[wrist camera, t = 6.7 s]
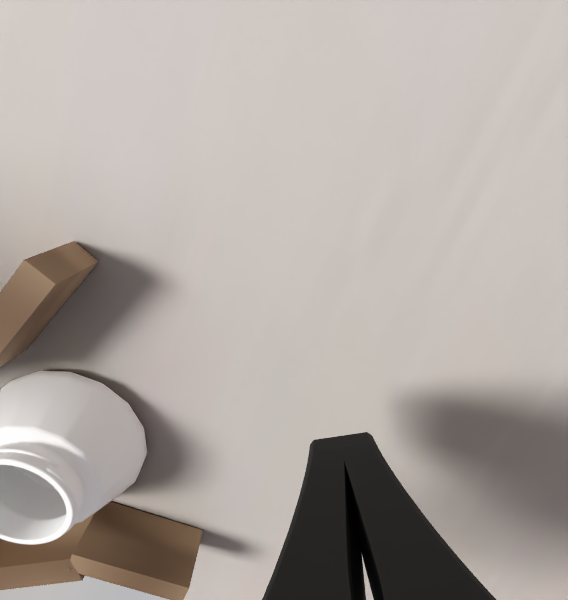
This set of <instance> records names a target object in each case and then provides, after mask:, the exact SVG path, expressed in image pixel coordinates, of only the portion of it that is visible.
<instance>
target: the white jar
mask: <svg viewBox="0 0 568 600" xmlns="http://www.w3.org/2000/svg"><path fill="white" fill-rule="evenodd" d="M146 455H147V447H146V440H145V433H144V427H143V426H142V424H141V423H140V421H139V420H138V418H137V416H136V415H135V413H134V412H133V410H132V408H131V407H130V405H129V404H128V403H127V402H126V401H124V400H123V399H122V398H121V397H119V396H118V395H117V394H115V393H114V392H113V391H112V390H110V389H109V388H108V387H107V386H105V385H104V384H103V383H100V382H97V381H94V380H92V379H89V378H86V377H84V376H81V375H78V374H75V373H73V372H61V371H36V372H34V373H31V374H28V375H26V376H23V377H20V378H17V379H15V380H12V381H10V382H9V383H8V384H6V385H5V386H4V387H3V388H2V389H1V390H0V538H1V539H3V540H6V541H10V542H14V543H19V544H43V543H47V542H50V541H53V540H55V539H57V538H59V537H61V536H62V535H63V534H65V533H66V532H67V531H69V530H70V529H71V528H72V527H73V525H74V524H77V523H80V522H83V521H84V520H85V519H87V518H88V517H90V516H91V515H92V514H94V513H95V512H97V511H98V510H99V509H101V508H102V507H104V506H105V505H107V504H108V503H109V502H111V501H112V500H114V499H115V498H116V497H118V496H119V495H120V494H121V493H122V492H124V491H125V490H126V489H127V488H128V487H130V486H131V485H132V484H133V483H134V482H135V481H136V479H137V477H138V475H139V473H140V470H141V467H142V465H143V462H144V460H145V457H146Z"/></svg>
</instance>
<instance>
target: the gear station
mask: <svg viewBox="0 0 568 600" xmlns="http://www.w3.org/2000/svg"><path fill="white" fill-rule="evenodd" d="M98 262H99V261H98V260H96V259H95V258H94V257H93V256H92V255H90V254H89V253H88V252H87V251H86V250H84V249H83V248H82V247H81V246H80V245H78V244H77V243H76V242H75V241H73V242H71V243H68V244H65V245H63V246H60V247H57V248H55V249H52V250H49V251H47V252H44V253H41V254H39V255H36V256H33V257H31V258H28V259H25V260H24V261H23V263H22V264H21V265H20V267H19V268H18V269H17V271H16V272H15V273H14V275H13V276H12V277H11V279H10V280H9V281H8V283H7V284H6V285H5V287H4V288H3V289H2V291H1V292H0V367H2V366H3V365H4V364H6V363H7V362H9V361H10V360H11V359H13V358H14V357H16V356H17V355H18V354H20V353H21V352H23V351H24V350H25V349H27V348H28V347H29V346H30V344H31V343H32V342H33V341H34V340H35V338H36V337H37V336H38V335H39V334H40V332H41V331H42V330H43V329H44V327H45V326H46V325H47V324H48V323H49V321H50V320H51V319H52V318H53V316H54V315H55V314H56V313H57V312H58V310H59V309H60V308H61V307H62V306H63V304H64V303H65V302H66V301H67V299H68V298H69V297H70V296H71V295H72V293H73V292H74V291H75V290H76V289H77V287H78V286H79V285H80V284H81V282H82V281H83V280H84V279H85V278H86V276H87V275H88V274H89V273H90V271H91V270H92V269H93V268H94V267H95V265H96V264H97V263H98ZM202 532H203V530H200V529H197V528H194V527H191V526H188V525H184V524H181V523H178V522H175V521H171V520H168V519H165V518H162V517H159V516H155V515H152V514H149V513H146V512H142V511H139V510H136V509H133V508H129V507H126V506H123V505H120V504H117V503H113V502H109V503H108V504H107V505H105V506H104V507H102V508H101V509H99V510H98V511H97V512H95V513H94V514H92V515H91V516H90V517H88V518H87V519H85V520H84V521H83V522H80V523H77V524H74V525H73V527H72V528H71V529H70V530H69V531H67V532H66V533H65V534H63V535H62V536H61V537H59V538H57V539H55V540H53V541H50V542H47V543H43V544H19V543H14V542H10V541H6V540H3V539H1V538H0V590H5V589H14V588H22V587H30V586H39V585H47V584H55V583H64V582H72V581H80V580H83V578H84V576H89V577H93V578H96V579H100V580H103V581H106V582H110V583H113V584H117V585H121V586H124V587H127V588H131V589H135V590H138V591H142V592H145V593H149V594H152V595H156V596H160V597H163V598H166V599H170V600H183V599H184V597H185V595H186V593H187V591H188V589H189V586H190V582H191V577H192V573H193V569H194V565H195V561H196V557H197V553H198V549H199V545H200V540H201V536H202Z"/></svg>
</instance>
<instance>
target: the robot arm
mask: <svg viewBox="0 0 568 600" xmlns="http://www.w3.org/2000/svg"><path fill="white" fill-rule="evenodd" d="M361 552H362V554H361ZM362 556H363V560H364V564H365V568H366V571H367V575H368V579H369V583H370V587H371V591H372V594H373V598H374V600H496V599H495V598H494V597H493V596H492V595H491V593H490V592H489V591H488V590H487V589H486V588H485V587H484V586H483V585H482V584H481V583H480V582H479V580H478V579H477V578H476V577H475V576H474V575H473V574H472V573H471V571H470V570H469V569H468V568H467V567H466V566H465V565H464V563H463V562H462V561H461V560H460V559H459V558H458V556H457V555H456V554H455V553H454V552H453V550H452V549H451V548H450V547H449V546H448V544H447V543H446V542H445V541H444V540H443V538H442V537H441V536H440V535H439V534H438V532H437V531H436V530H435V529H434V527H433V526H432V525H431V524H430V522H429V521H428V520H427V518H426V517H425V516H424V515H423V513H422V512H421V511H420V509H419V508H418V507H417V505H416V504H415V503H414V501H413V500H412V499H411V497H410V496H409V494H408V493H407V492H406V490H405V489H404V488H403V486H402V485H401V483H400V482H399V480H398V479H397V478H396V476H395V474H394V473H393V471H392V470H391V468H390V467H389V465H388V464H387V462H386V461H385V459H384V457H383V456H382V454H381V452H380V450H379V449H378V447H377V445H376V443H375V441H374V439H373V436H372V435H370V434H369V433H367V432H365V433H358V434H351V435H345V436H338V437H331V438H324V439H318V440H314V441H313V442H312V443H311V444H310V450H309V457H308V463H307V468H306V472H305V477H304V481H303V484H302V488H301V492H300V496H299V499H298V502H297V506H296V509H295V512H294V515H293V519H292V522H291V525H290V528H289V531H288V534H287V537H286V540H285V542H284V545H283V548H282V550H281V553H280V556H279V559H278V561H277V564H276V567H275V569H274V572H273V575H272V577H271V580H270V582H269V584H268V587H267V589H266V592H265V594H264V597H263V599H262V600H366V596H365V585H364V575H363V564H362Z"/></svg>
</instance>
